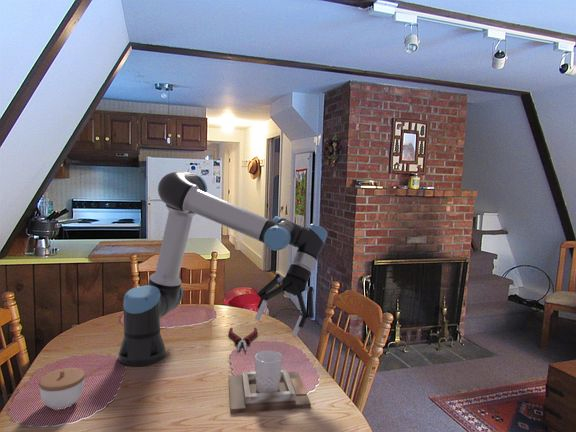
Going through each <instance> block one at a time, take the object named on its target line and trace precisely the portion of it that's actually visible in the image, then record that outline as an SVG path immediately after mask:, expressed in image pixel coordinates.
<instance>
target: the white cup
mask: <svg viewBox="0 0 576 432" xmlns="http://www.w3.org/2000/svg"><path fill="white" fill-rule="evenodd" d="M254 362H255V373H256V389H257V391H258V392H259V393H269V392H277V391H278V390H279V384H280V376H281V370H282V362H283V355H282V354H281V352H279V351H276V350H261V351H259V352H257V353H256V354H255V356H254Z"/></svg>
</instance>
